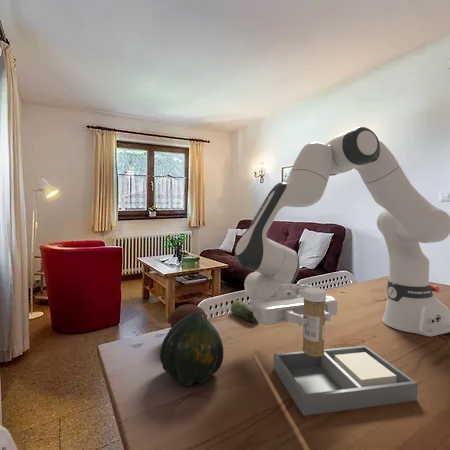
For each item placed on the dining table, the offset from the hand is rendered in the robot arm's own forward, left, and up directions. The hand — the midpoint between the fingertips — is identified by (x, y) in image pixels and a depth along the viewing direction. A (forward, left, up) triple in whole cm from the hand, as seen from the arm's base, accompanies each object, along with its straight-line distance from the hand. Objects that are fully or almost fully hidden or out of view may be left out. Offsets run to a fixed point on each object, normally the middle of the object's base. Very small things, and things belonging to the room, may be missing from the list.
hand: (316, 320), depth 61 cm
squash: (+25, -12, -16) cm, 32 cm away
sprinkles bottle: (0, -1, -7) cm, 8 cm away
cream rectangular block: (-12, -1, -15) cm, 19 cm away
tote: (-6, -1, -16) cm, 17 cm away
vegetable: (+4, -43, -16) cm, 47 cm away
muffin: (+25, -30, -16) cm, 42 cm away
